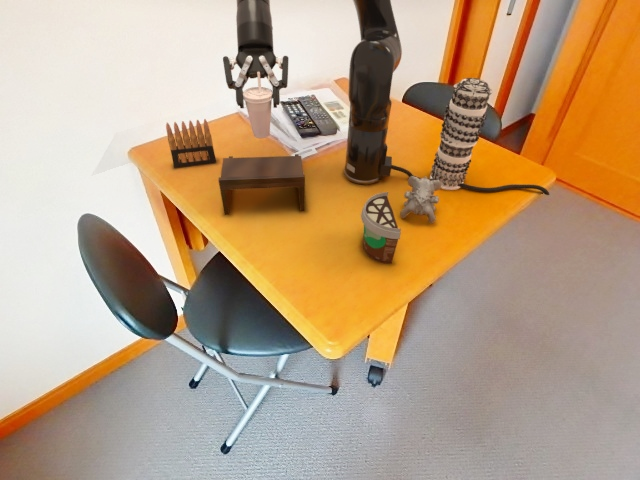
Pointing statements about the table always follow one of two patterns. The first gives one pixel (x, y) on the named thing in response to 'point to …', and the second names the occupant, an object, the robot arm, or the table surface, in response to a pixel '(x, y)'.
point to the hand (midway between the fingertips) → (258, 106)
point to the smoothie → (259, 109)
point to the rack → (261, 175)
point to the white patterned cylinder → (460, 132)
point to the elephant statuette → (421, 197)
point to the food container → (379, 229)
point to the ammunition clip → (190, 149)
